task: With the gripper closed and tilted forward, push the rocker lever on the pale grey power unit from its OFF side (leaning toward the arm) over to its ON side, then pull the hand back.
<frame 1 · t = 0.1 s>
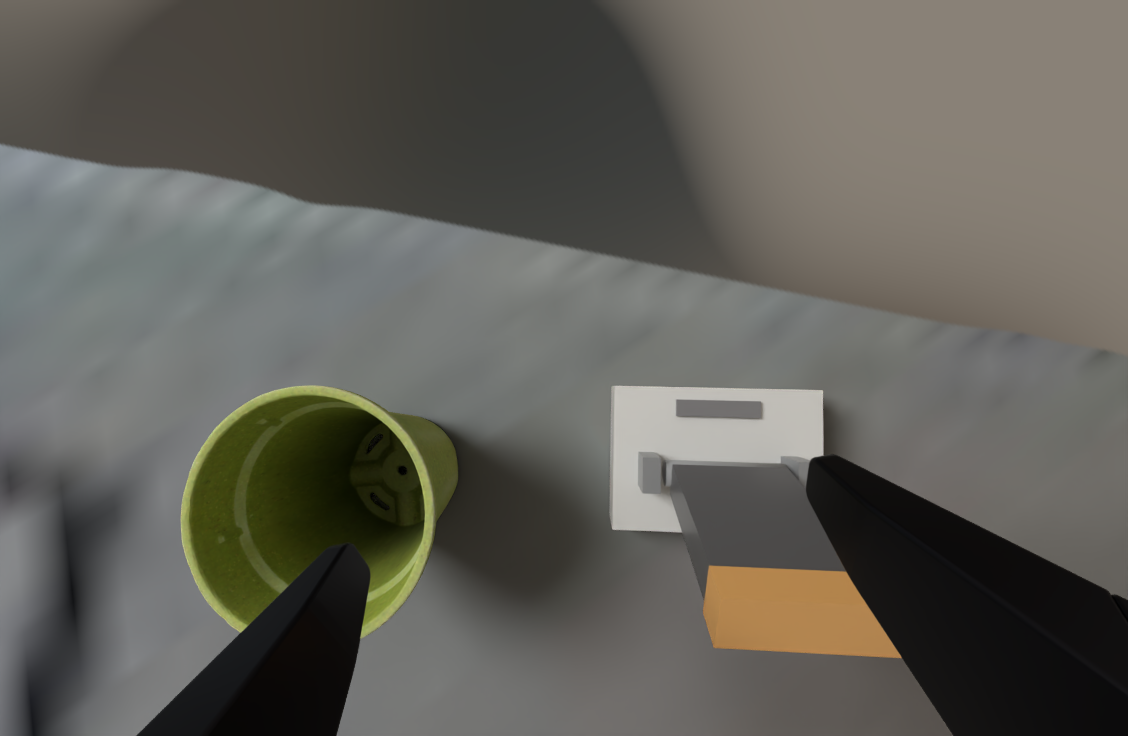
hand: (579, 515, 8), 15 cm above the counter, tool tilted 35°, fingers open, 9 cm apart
plant pot: (409, 469, 24), on the counter
rocker lever: (754, 527, 16), point 7 cm above the counter, hinge at -20.0°
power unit: (702, 461, 23), on the counter
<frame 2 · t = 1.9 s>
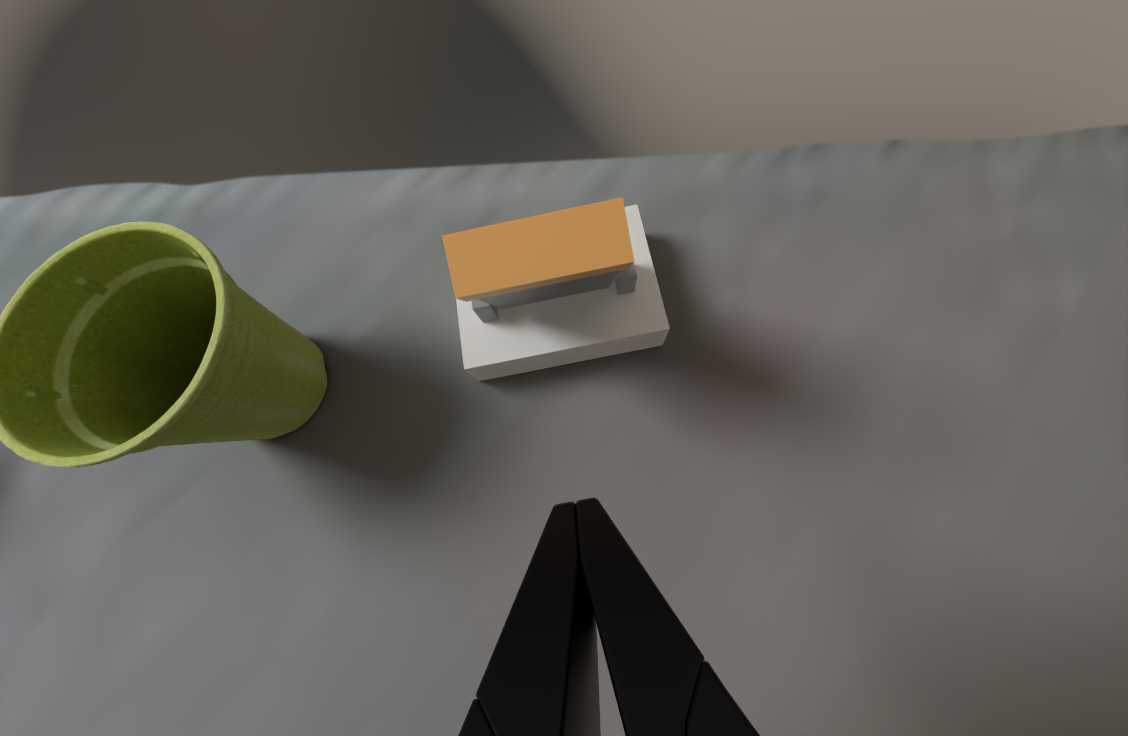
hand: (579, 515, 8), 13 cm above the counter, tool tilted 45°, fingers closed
plant pot: (282, 386, 24), on the counter
rocker lever: (547, 271, 16), point 7 cm above the counter, hinge at -20.0°
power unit: (560, 312, 23), on the counter
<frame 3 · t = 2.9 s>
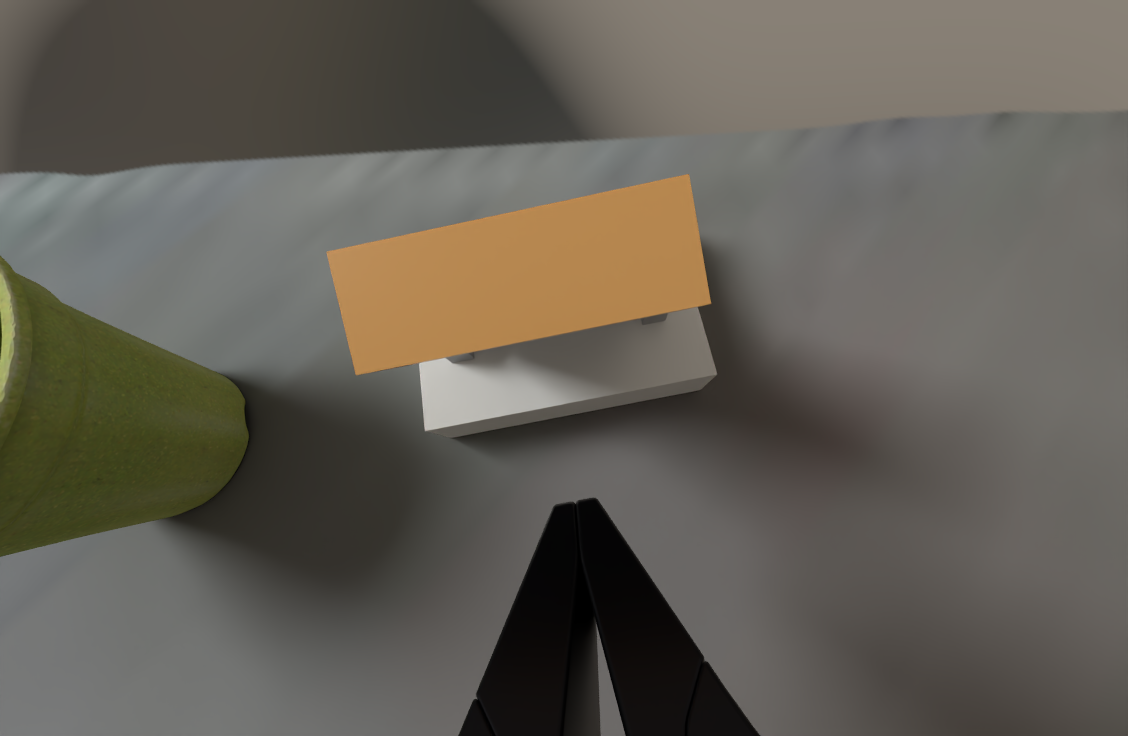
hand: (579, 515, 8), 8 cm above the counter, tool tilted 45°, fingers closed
plant pot: (191, 441, 18), on the counter
rocker lever: (541, 301, 10), point 7 cm above the counter, hinge at -20.0°
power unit: (560, 343, 17), on the counter
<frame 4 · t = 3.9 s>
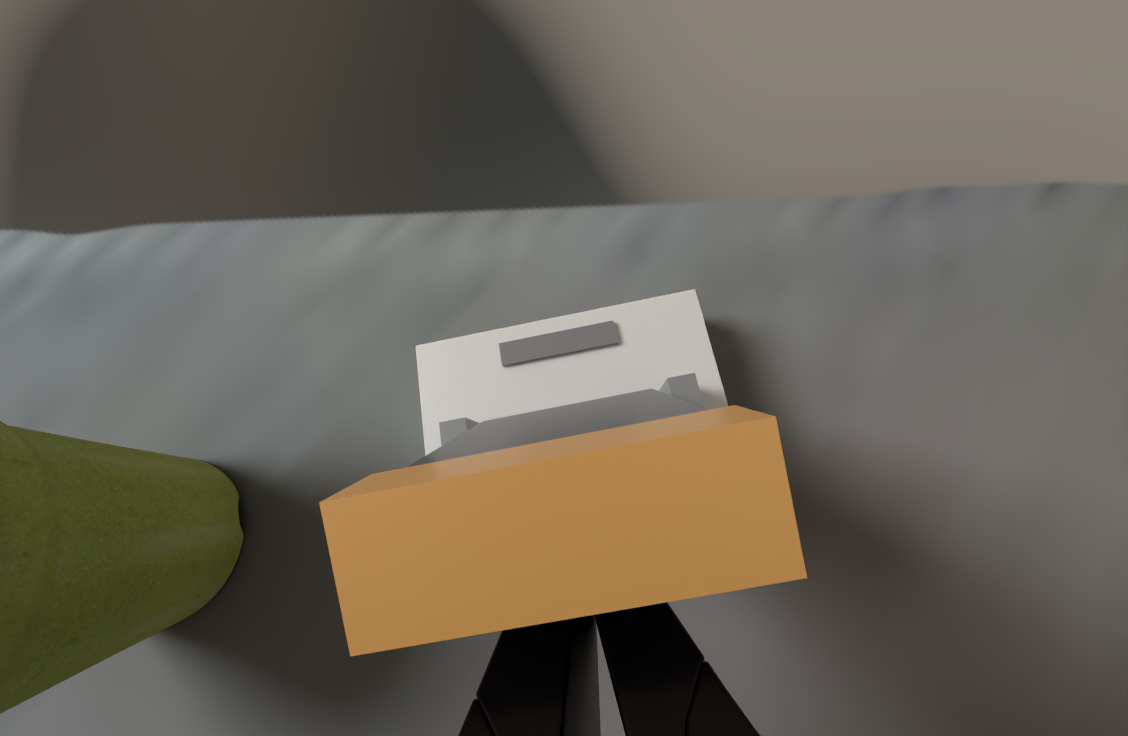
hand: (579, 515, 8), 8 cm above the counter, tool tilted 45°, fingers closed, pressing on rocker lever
plant pot: (182, 538, 17), on the counter
rocker lever: (568, 454, 9), point 7 cm above the counter, hinge at -15.1°, touching gripper
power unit: (578, 437, 16), on the counter
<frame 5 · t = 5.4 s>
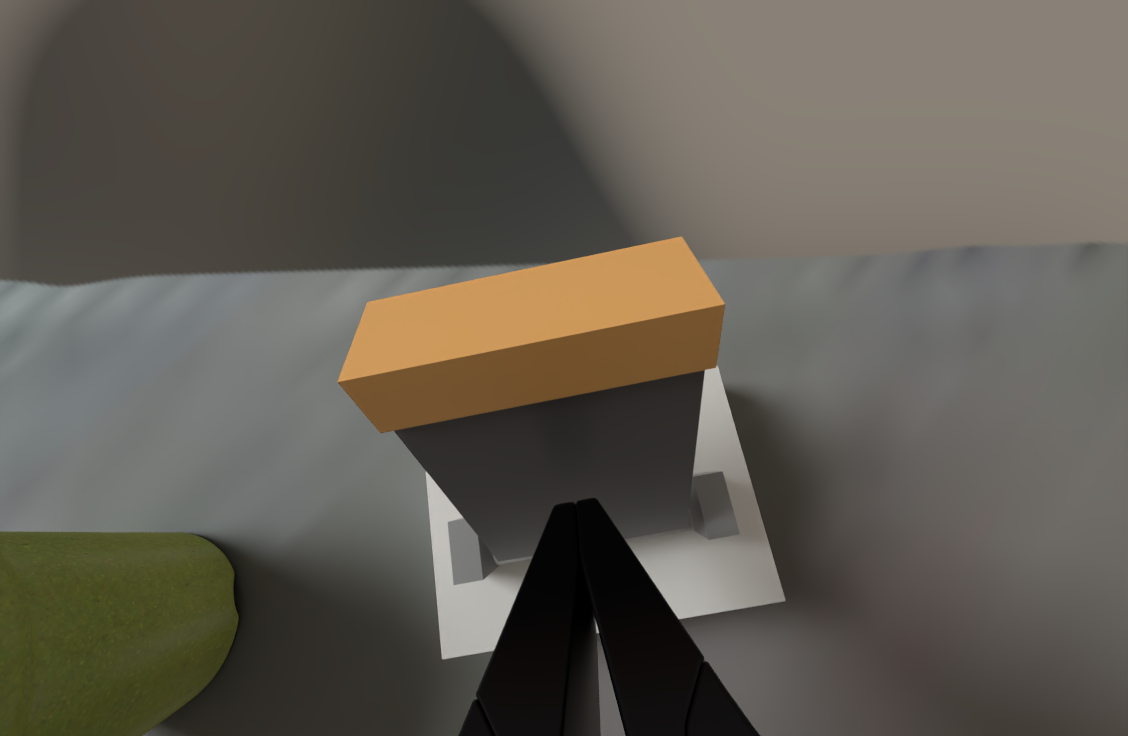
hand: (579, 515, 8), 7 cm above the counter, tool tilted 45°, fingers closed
plant pot: (174, 617, 16), on the counter
rocker lever: (569, 456, 9), point 7 cm above the counter, hinge at 29.1°
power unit: (592, 514, 15), on the counter
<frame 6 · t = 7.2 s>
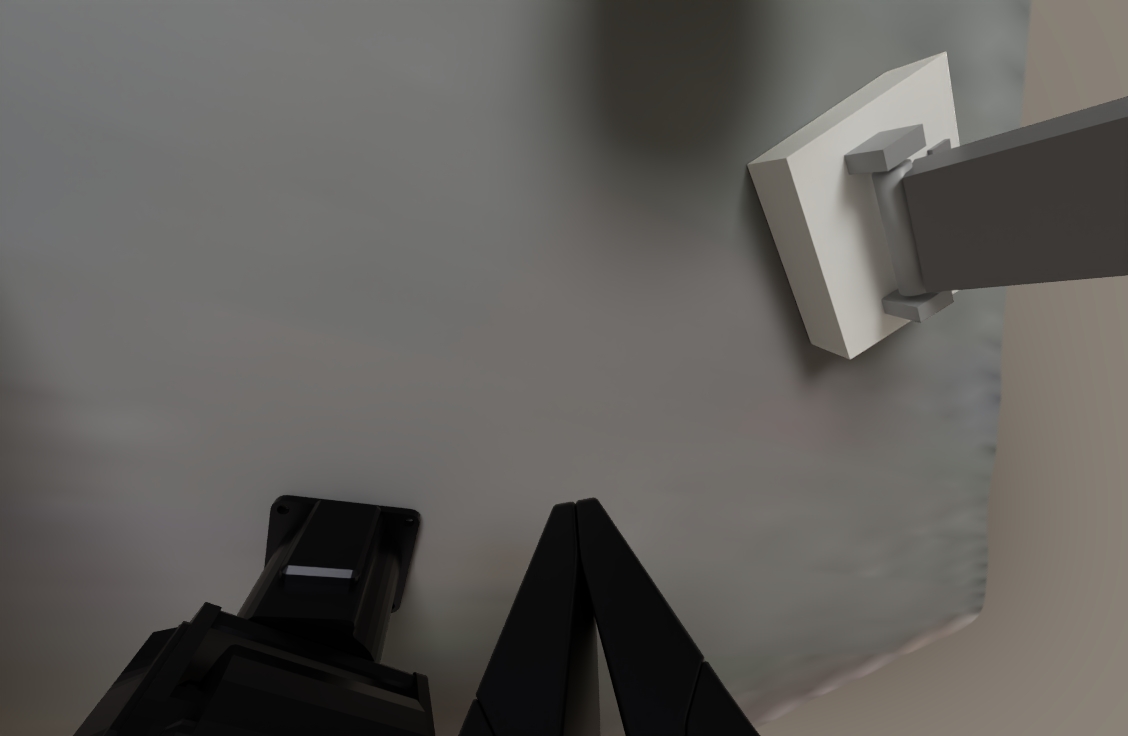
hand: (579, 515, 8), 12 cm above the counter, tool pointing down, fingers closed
rocker lever: (1042, 206, 14), point 7 cm above the counter, hinge at 29.2°
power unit: (835, 228, 20), on the counter
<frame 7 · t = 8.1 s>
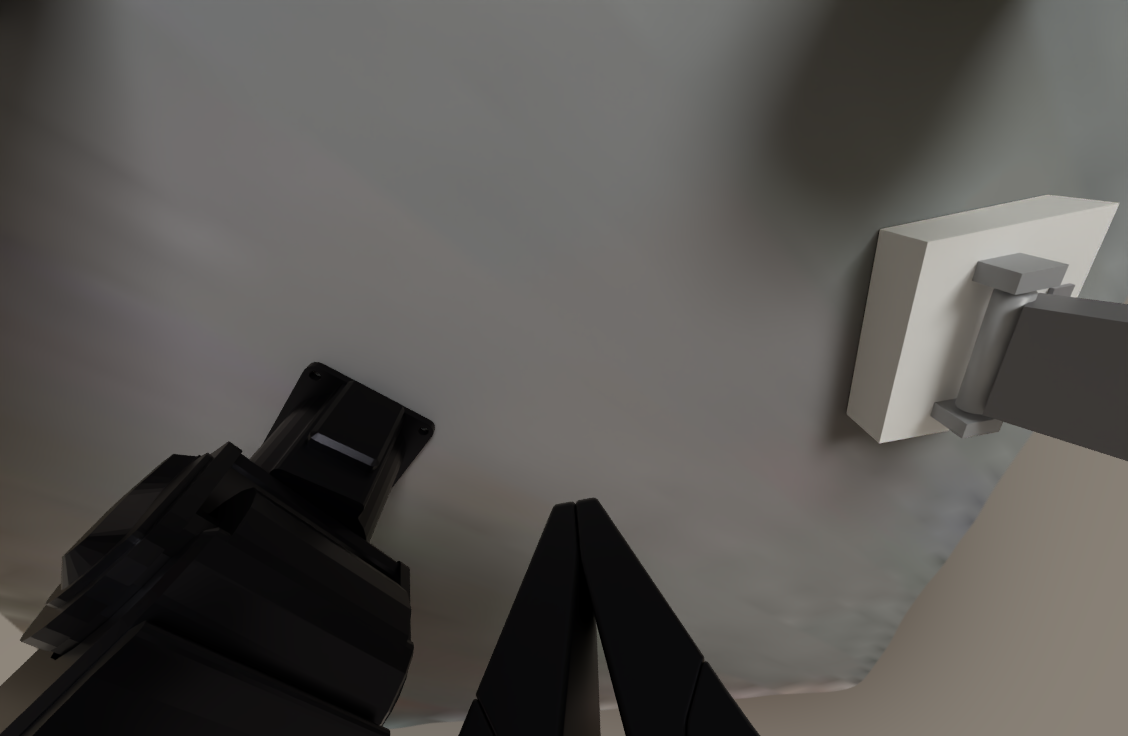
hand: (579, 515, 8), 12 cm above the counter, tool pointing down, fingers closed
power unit: (923, 320, 20), on the counter
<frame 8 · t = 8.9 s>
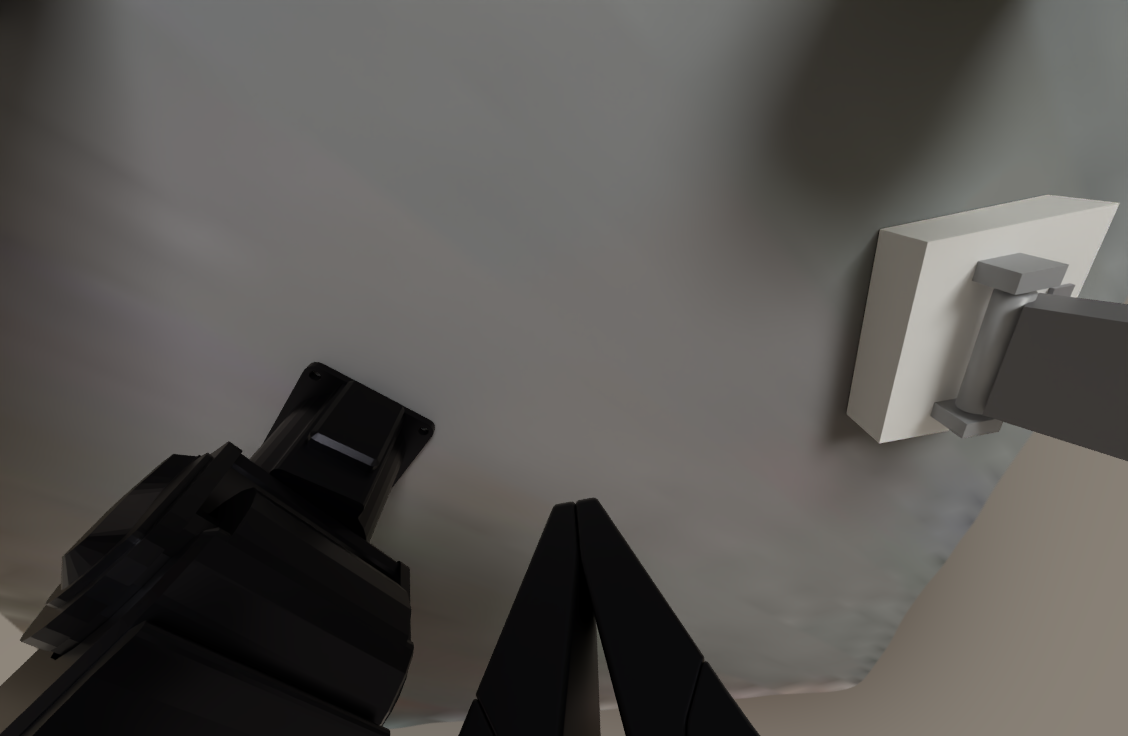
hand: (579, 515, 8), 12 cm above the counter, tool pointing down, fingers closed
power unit: (923, 320, 20), on the counter
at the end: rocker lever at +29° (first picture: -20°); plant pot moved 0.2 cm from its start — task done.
